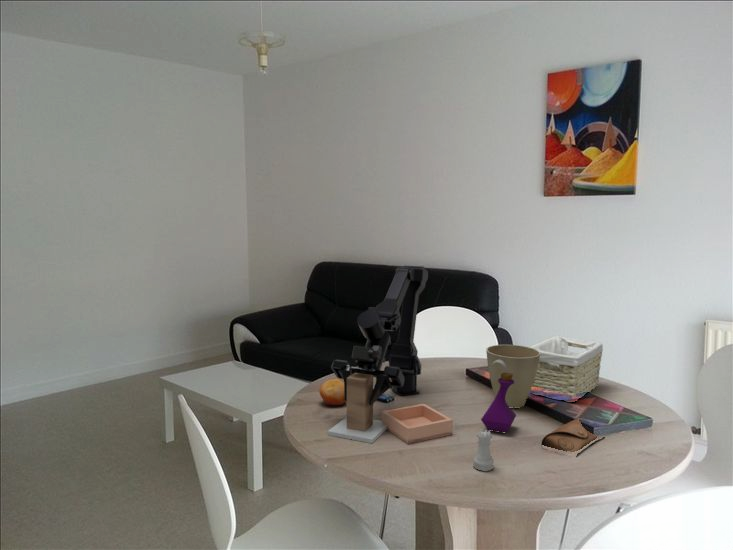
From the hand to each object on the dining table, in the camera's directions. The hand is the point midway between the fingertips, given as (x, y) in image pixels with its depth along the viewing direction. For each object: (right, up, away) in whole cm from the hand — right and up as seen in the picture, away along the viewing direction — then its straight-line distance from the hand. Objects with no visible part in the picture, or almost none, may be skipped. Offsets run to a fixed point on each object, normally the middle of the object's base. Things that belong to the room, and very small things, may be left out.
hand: (357, 402), depth 136 cm
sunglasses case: (+52, -9, -4) cm, 53 cm away
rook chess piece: (+27, -10, -18) cm, 34 cm away
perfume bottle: (+36, -8, +3) cm, 37 cm away
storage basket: (+64, -5, +35) cm, 73 cm away
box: (+15, -7, +3) cm, 17 cm away
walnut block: (0, -6, +2) cm, 7 cm away
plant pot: (+44, -6, +22) cm, 49 cm away
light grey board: (0, -7, +2) cm, 8 cm away
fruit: (-7, -6, +22) cm, 23 cm away
